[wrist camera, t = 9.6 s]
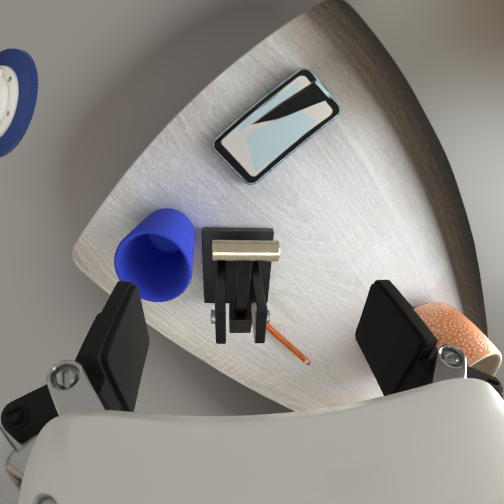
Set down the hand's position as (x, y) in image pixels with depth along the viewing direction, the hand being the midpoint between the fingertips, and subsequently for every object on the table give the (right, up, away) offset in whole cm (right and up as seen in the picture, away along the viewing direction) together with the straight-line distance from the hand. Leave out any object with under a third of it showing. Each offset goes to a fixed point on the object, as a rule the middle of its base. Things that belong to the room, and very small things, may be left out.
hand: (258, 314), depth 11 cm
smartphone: (+3, +17, +20) cm, 27 cm away
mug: (-12, +4, +26) cm, 29 cm away
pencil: (+5, -12, +35) cm, 37 cm away
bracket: (-2, +1, +28) cm, 28 cm away
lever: (-1, 0, +15) cm, 15 cm away
